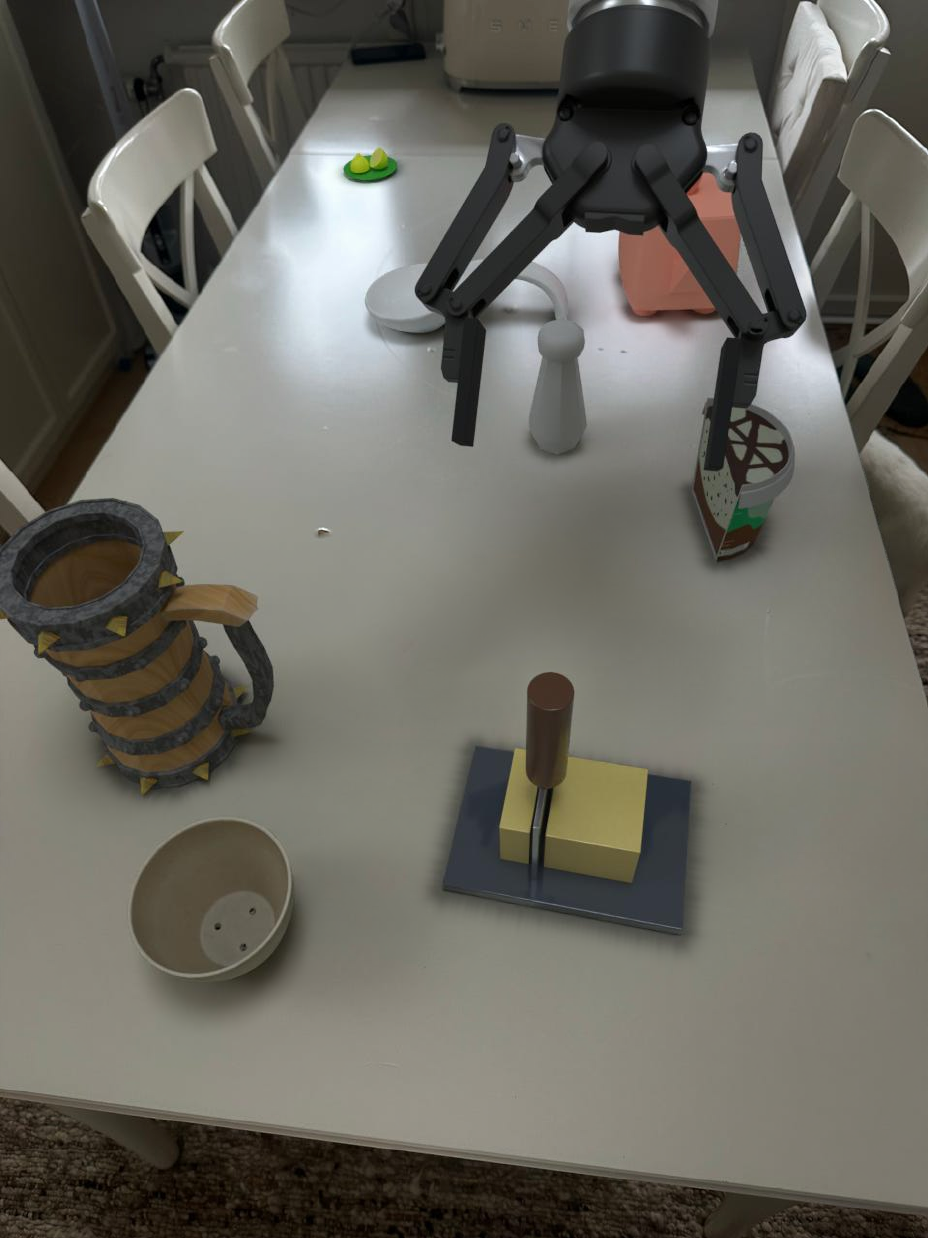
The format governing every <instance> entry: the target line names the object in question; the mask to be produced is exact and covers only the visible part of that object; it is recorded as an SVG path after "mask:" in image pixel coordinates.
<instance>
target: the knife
mask: <svg viewBox="0 0 928 1238" xmlns="http://www.w3.org/2000/svg"><path fill="white" fill-rule="evenodd" d="M574 703H575V687H574V685H573V683H572V682H571V680H570V679H569V678H568V677H567V676H565V675H563V674H561V673H559V672H554V671H546V672H542V673H539V674H537V675H535V676H533V678H532V679H531V680H530V681H529V683H528V685H527V687H526V723H525V724H526V726H525V749H526V775H527V777H528V779H529V780H530V781H531V782H532V783H533V784H534V785H536V786H538V787H540V790H539V796H538V801H537V807H536V813H535V818H534V824H533V838H532V864H531V879H534V880H537V875H538V869H539V863H540V857H541V851H542V845H543V839H544V833H545V827H546V821H547V815H548V809H549V803H550V797H551V791H552V788H553V787H556V786H558V785H559V784H561V783H562V782H563V781H564V779H565V777H566V774H567V764H568V756H569V754H570V742H571V735H572V733H571V731H572V722H573V713H574Z"/></svg>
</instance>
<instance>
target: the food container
mask: <svg viewBox="0 0 928 1238" xmlns="http://www.w3.org/2000/svg"><path fill="white" fill-rule="evenodd" d="M713 401H714V397H707V398H706V401H705V402H704V405H703V408H702V412H701V414H702V415H703V420H702V427H701V432H700V437H699V444H698V449H697V456H696V461H695V466H694V467H695V468H694V473H693V480H692V485H691V492H692V497H693V498H694V501H695V505H696V507H697V510H698V513H699V516H700V519H701V522H702V525H703V528H704V531H705V533H706V534H705V535H706V536H707V539H708V543H709V546H710V548H711V551H712V554H713V557H714V560H715V562H716V563H717V562H718V563H719V562H724V561H730V560H732V559H735V558H737V557H740V556H742V555H744V554H745V553H747V551H749V550H750V549H751V548H752V547H753V546H754V544H755V543H756V540H757V539H758V537H759V535H760V532H761V530H762V527H763V525H764V523H765V521H766V518H767V516H768V514H769V512H770V509H771V507H772V504H773V503H774V501H775V498H777V497H778V496H780V495H781V494H783V492H784V491H786V489H787V488H788V486H789V485H790V483H792V480H793V477H794V474H795V466H796V465H795V463H796V451H795V444H794V441H793V438H792V435H791V432H790V431H789V429H788V428H787V426H786V425H785V424H784V423H783V422H782V421H781V420H780V419H779V418H778V417H777V416H775V415H774V414H773V413H771V412H769V411H768V410H766V409H764V408H762V407H760V406H758V405H756V404H753V403H751V405H750V406H749V407H748V408H747V409H745V408H733V407H732V412H731V419H730V425H729V432H728V439H727V446H726V453H725V459H724V466H723V468H722V469H721V470H719V471H718V472H717V471H707V470H704V463H705V456H706V449H707V442H708V435H709V429H710V422H711V415H712V408H713Z"/></svg>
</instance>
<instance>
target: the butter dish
mask: <svg viewBox="0 0 928 1238" xmlns="http://www.w3.org/2000/svg"><path fill="white" fill-rule="evenodd" d="M539 790H540V787H538V786H536V785H534V784H533V783H532V782H531V781H530V780H529V779H528V777H527V775H526V748H519V747H515V748H514V751H511V750H504V749H499V748H492V747H485V746H479V745H475V746H474V749H473V753H472V758H471V762H470V767H469V770H468V775H467V779H466V783H465V788H464V792H463V797H462V800H461V805H460V809H459V813H458V817H457V822H456V826H455V830H454V834H453V838H452V843H451V848H450V852H449V856H448V860H447V865H446V868H445V873H444V876H443V881H442V887H443V890H444V891H449V892H455V893H459V894H464V895H470V896H474V897H480V898H485V899H490V900H495V901H502V902H506V903H512V904H516V905H522V906H527V907H532V908H537V909H541V910H548V911H553V912H558V913H562V914H569V915H573V916H578V917H583V918H589V919H594V920H600V921H605V922H608V923H609V922H610V923H615V924H620V925H626V926H632V927H634V928H635V927H637V928H641V929H646V930H650V931H651V930H652V931H657V932H662V933H666V934H672V935H676V936H681V935H682V932H683V930H684V919H685V918H684V917H685V903H686V902H685V900H686V883H687V882H686V881H687V865H688V847H689V830H690V814H691V813H690V811H691V797H692V795H691V794H692V781H691V780H688V779H684V778H683V779H682V778H675V777H669V776H663V775H657V774H653V773H649V770H648V769H647V768H642V767H638V766H637V767H636V766H629V765H623V764H618V763H611V762H604V761H600V760H599V761H598V760H592V759H588V758H580V757H574V756H570V755H568V764H567V774H566V777H565V779H564V781H563V782H562V783H561V784H559V785H558V786H556V787H553V788H552V791H551V797H550V803H549V809H548V815H547V821H546V827H545V833H544V839H543V845H542V851H541V857H540V863H539V869H538V875H537V880H534V879H531V864H532V838H533V824H534V818H535V813H536V807H537V801H538V796H539Z"/></svg>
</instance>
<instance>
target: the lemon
mask: <svg viewBox="0 0 928 1238" xmlns="http://www.w3.org/2000/svg"><path fill="white" fill-rule="evenodd" d="M397 168H398V162H397V161H396V160H395V159H394V158H392V157H390V156H388V155H387V153H386V152H385V150H384V149H383V148H382V147H377V148H376V149H375V150H373V153H372V154H368V155H361V153H360V152H357V153H356V154H355V156H354V157H353V158H352V159H351V160H350V161H348V162H347V163H345V164H344V166H343V173H344V174H345V175H346V176H347V177H349V178H352V179H356V180H359V181H377V180H379V179H383V178H386V177H387V176H389V175H391V174H393V173H394V172H395V171H396V170H397Z"/></svg>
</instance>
